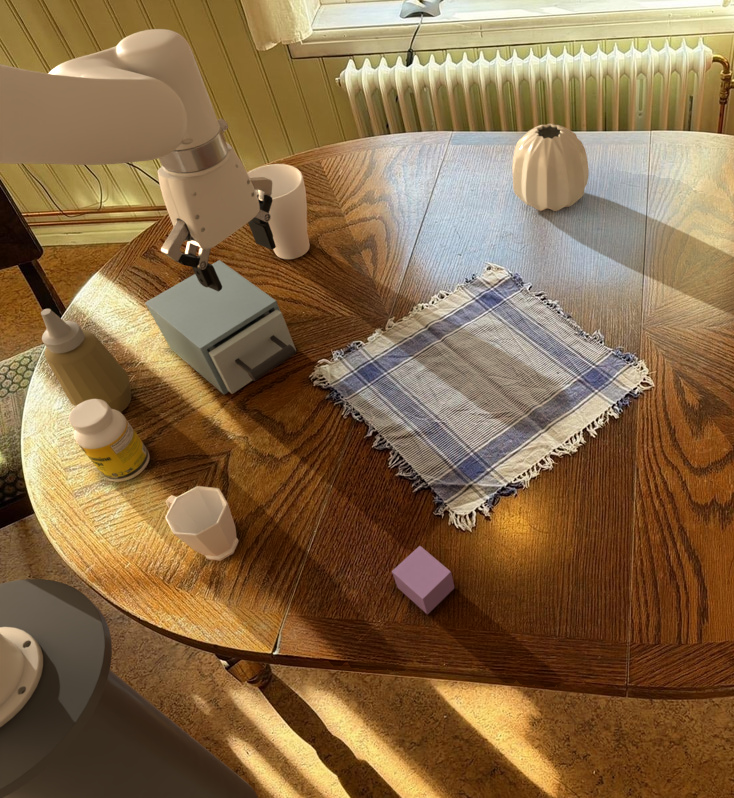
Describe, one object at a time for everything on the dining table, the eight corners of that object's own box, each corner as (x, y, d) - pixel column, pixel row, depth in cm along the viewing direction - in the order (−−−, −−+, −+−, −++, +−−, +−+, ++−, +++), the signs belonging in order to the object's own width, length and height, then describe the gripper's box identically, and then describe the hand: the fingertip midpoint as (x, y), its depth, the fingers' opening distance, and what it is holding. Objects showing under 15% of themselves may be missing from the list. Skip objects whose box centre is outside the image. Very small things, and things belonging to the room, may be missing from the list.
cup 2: (294, 275, 126) (271, 207, 116) (249, 256, 129) (222, 189, 119) (335, 241, 132) (316, 173, 121) (290, 224, 135) (268, 157, 125)
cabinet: (294, 347, 114) (276, 300, 107) (224, 395, 108) (199, 348, 101) (240, 306, 121) (219, 259, 114) (170, 349, 115) (144, 302, 108)
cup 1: (220, 580, 89) (195, 546, 83) (162, 544, 92) (134, 509, 86) (261, 535, 93) (240, 500, 87) (204, 502, 96) (180, 466, 90)
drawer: (317, 366, 110) (303, 328, 105) (252, 411, 105) (234, 373, 99) (245, 312, 119) (228, 273, 113) (181, 351, 113) (160, 313, 107)
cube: (427, 614, 85) (422, 599, 82) (397, 587, 88) (391, 571, 85) (454, 587, 87) (451, 571, 84) (424, 562, 90) (419, 545, 87)
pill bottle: (92, 474, 100) (50, 422, 91) (127, 440, 103) (89, 387, 95) (127, 490, 98) (86, 438, 90) (161, 455, 101) (125, 402, 93)
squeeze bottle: (150, 402, 108) (90, 310, 94) (96, 434, 104) (26, 343, 91) (123, 374, 112) (63, 282, 98) (71, 405, 108) (0, 313, 94)
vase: (592, 181, 142) (595, 114, 131) (578, 224, 133) (580, 156, 123) (522, 173, 144) (519, 107, 134) (504, 215, 135) (499, 148, 125)
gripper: (224, 107, 92) (266, 223, 105) (108, 176, 82) (169, 294, 95) (269, 121, 89) (306, 238, 102) (154, 195, 79) (211, 314, 92)
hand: (240, 265), depth 98 cm, fingers open, 9 cm apart
